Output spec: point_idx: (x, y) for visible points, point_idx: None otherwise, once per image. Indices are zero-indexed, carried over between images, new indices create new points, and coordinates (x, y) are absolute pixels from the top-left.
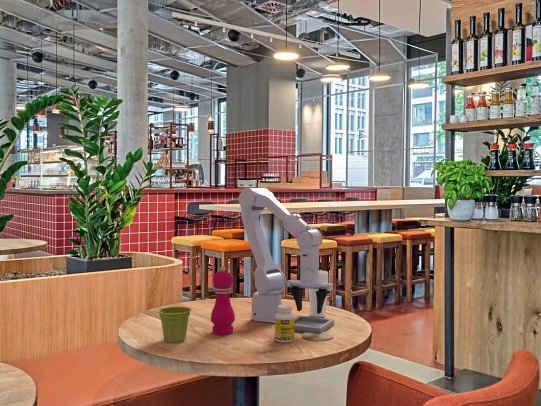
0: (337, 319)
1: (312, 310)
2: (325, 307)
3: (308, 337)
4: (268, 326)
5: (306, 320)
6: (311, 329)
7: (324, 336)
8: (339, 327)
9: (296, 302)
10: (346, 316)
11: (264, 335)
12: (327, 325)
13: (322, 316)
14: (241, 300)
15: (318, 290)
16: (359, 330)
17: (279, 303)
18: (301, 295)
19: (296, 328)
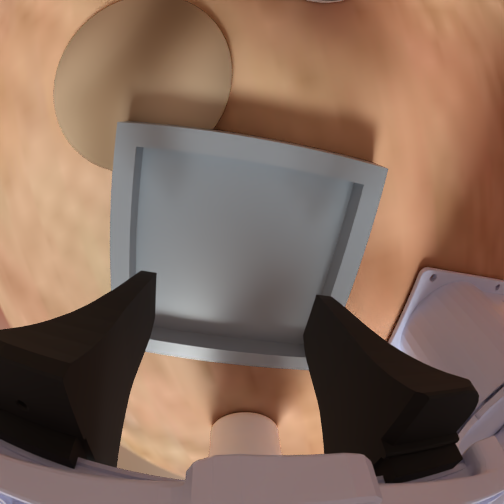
0: (150, 405)
1: (264, 434)
2: (208, 456)
3: (179, 10)
4: (449, 210)
5: (272, 342)
6: (183, 126)
7: (93, 68)
8: (87, 298)
9: (361, 329)
10: (138, 435)
11: (435, 37)
12: (113, 246)
13: (218, 419)
14: None
15: (75, 435)
16: (6, 273)
17: (447, 372)
18: (330, 426)
19: (294, 144)
